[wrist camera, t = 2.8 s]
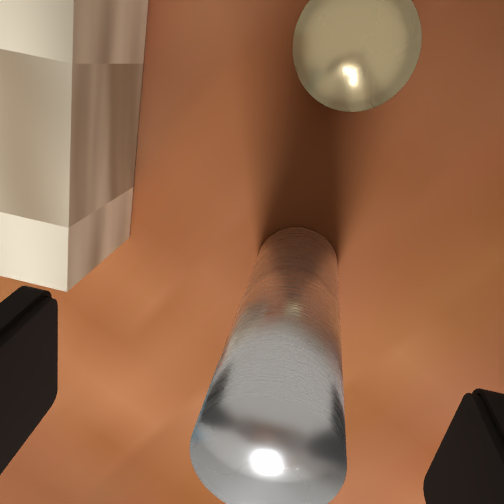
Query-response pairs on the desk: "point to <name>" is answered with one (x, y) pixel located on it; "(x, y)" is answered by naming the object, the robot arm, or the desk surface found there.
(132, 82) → the pin block
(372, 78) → the short pin
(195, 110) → the desk surface
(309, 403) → the tall pin
